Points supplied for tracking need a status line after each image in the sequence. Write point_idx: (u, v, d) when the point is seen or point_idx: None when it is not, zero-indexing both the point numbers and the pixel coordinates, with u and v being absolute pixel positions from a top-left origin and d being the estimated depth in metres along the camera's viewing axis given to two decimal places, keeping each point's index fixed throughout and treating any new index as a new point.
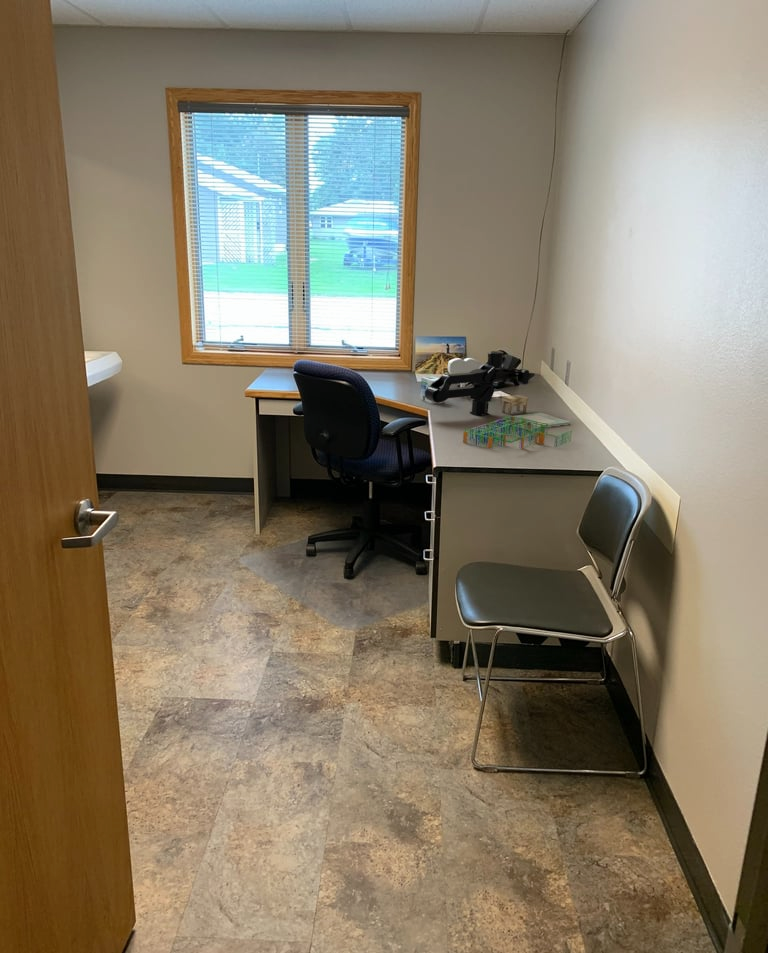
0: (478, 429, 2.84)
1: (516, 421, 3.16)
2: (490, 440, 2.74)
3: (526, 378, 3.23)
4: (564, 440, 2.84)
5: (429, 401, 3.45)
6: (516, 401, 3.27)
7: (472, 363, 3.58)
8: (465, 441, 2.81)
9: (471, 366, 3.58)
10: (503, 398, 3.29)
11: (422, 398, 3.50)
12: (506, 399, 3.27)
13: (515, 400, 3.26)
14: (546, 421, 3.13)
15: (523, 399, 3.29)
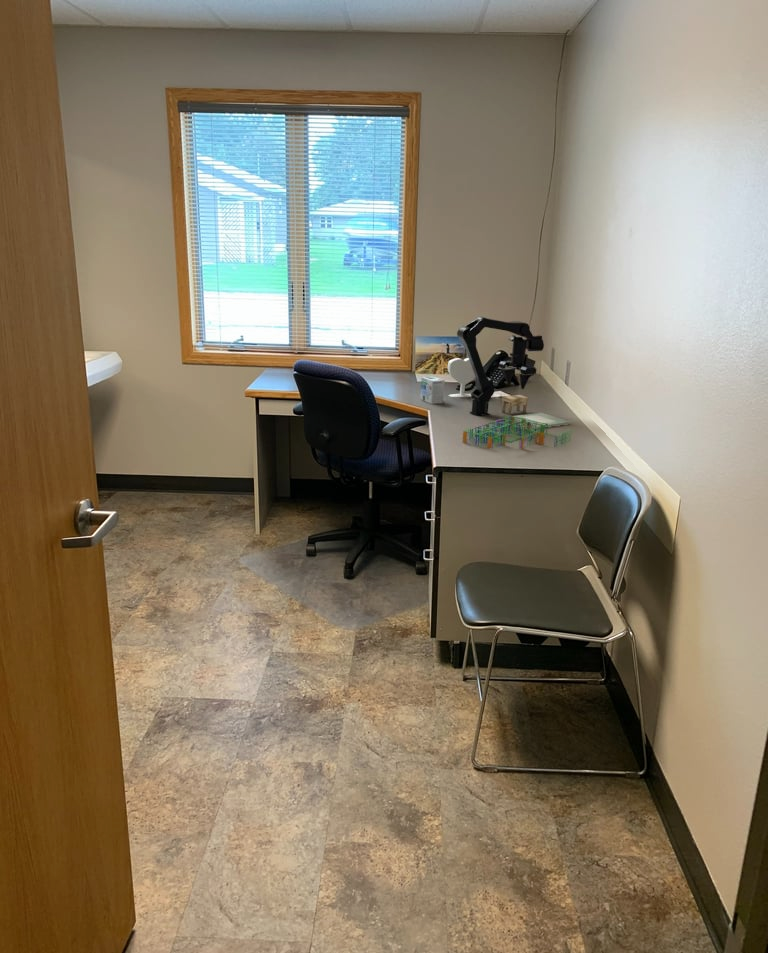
0: (478, 429, 2.84)
1: (516, 421, 3.16)
2: (490, 440, 2.74)
3: (531, 371, 3.18)
4: None
5: (429, 401, 3.45)
6: (516, 401, 3.27)
7: None
8: (465, 441, 2.81)
9: (471, 366, 3.58)
10: (503, 398, 3.29)
11: (422, 398, 3.50)
12: (506, 399, 3.27)
13: (515, 400, 3.26)
14: (546, 421, 3.13)
15: (523, 399, 3.29)
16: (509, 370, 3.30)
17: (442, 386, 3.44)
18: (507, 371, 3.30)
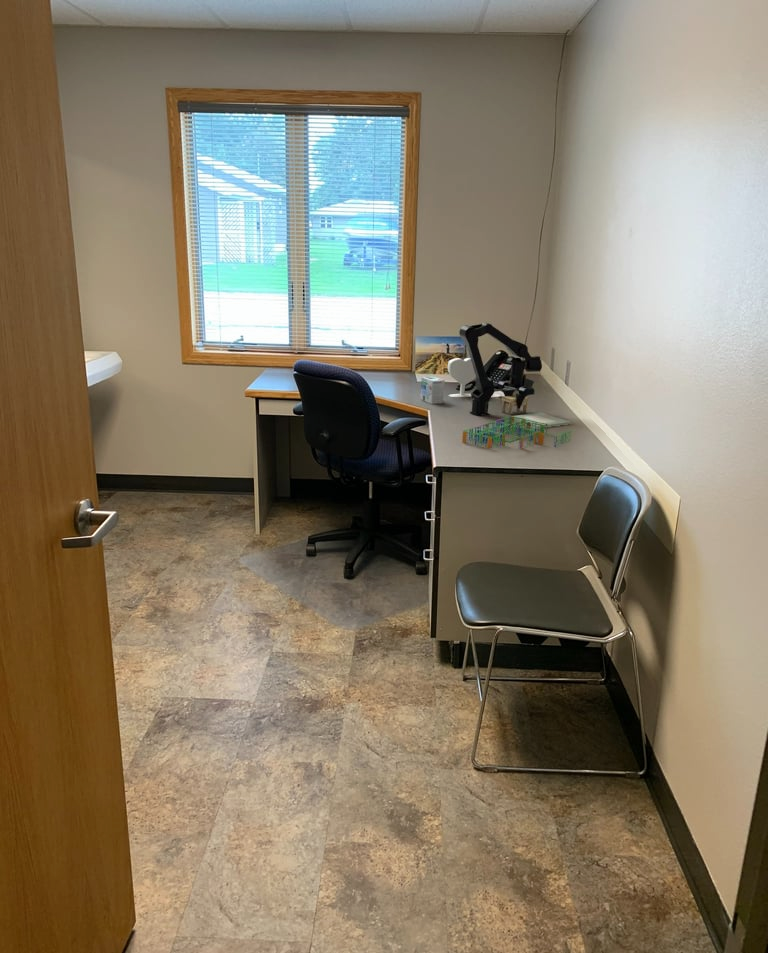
0: (477, 429, 2.84)
1: (516, 421, 3.16)
2: (489, 440, 2.74)
3: (529, 392, 3.21)
4: None
5: (429, 401, 3.45)
6: None
7: None
8: (464, 441, 2.81)
9: (471, 366, 3.58)
10: (503, 398, 3.29)
11: (422, 398, 3.50)
12: (506, 399, 3.27)
13: (515, 400, 3.26)
14: (546, 421, 3.13)
15: None
16: (510, 391, 3.32)
17: (442, 386, 3.44)
18: (508, 392, 3.31)
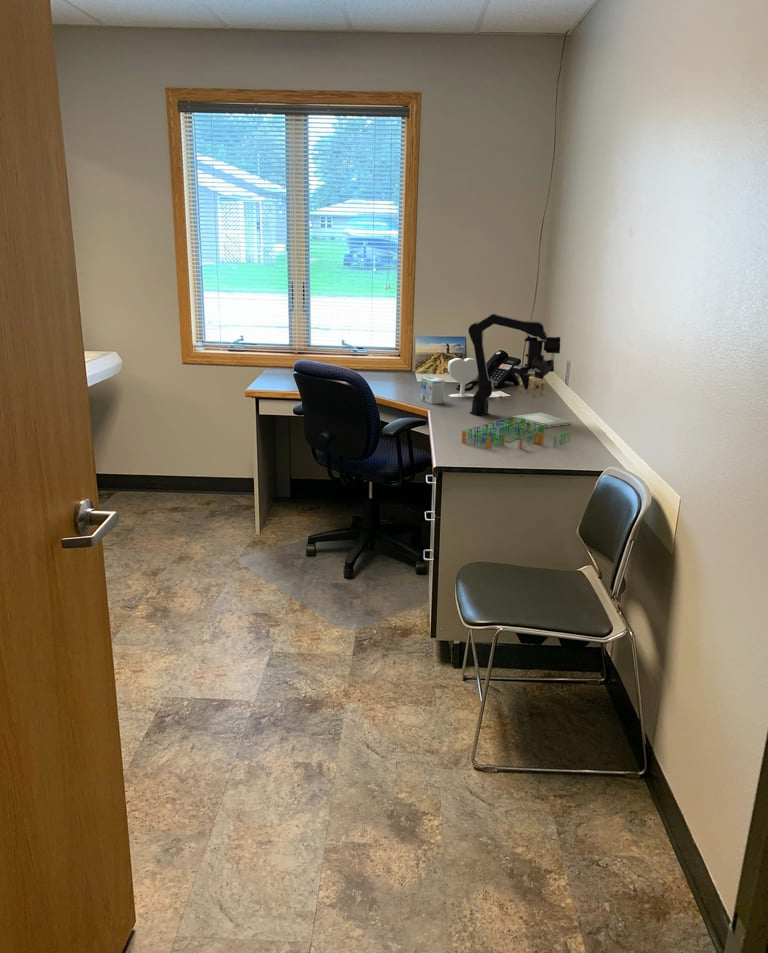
0: (477, 429, 2.84)
1: (516, 421, 3.16)
2: (489, 440, 2.74)
3: (515, 370, 3.12)
4: (563, 440, 2.84)
5: (429, 401, 3.45)
6: None
7: (472, 363, 3.58)
8: (464, 441, 2.81)
9: (471, 366, 3.58)
10: None
11: (422, 398, 3.50)
12: None
13: None
14: (546, 421, 3.13)
15: (530, 381, 3.15)
16: (539, 373, 3.19)
17: (442, 386, 3.44)
18: (537, 373, 3.20)
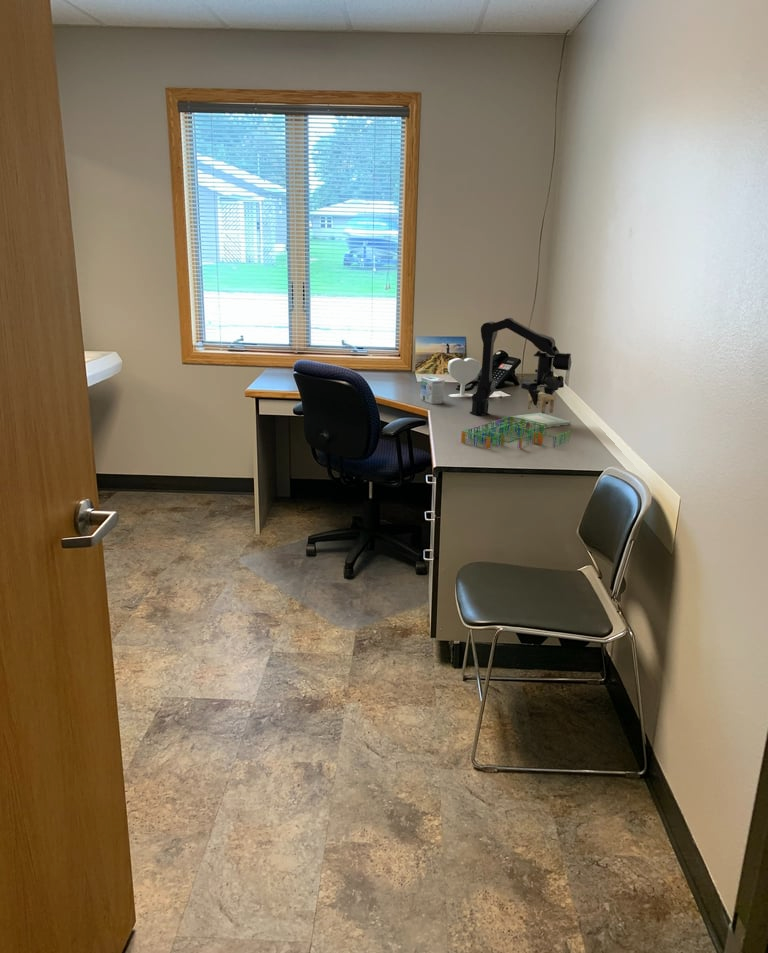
0: (476, 429, 2.84)
1: (516, 421, 3.16)
2: (488, 440, 2.74)
3: (524, 386, 3.08)
4: None
5: (429, 401, 3.45)
6: None
7: (472, 363, 3.58)
8: (463, 441, 2.81)
9: (471, 366, 3.58)
10: None
11: (422, 398, 3.50)
12: None
13: None
14: (546, 421, 3.13)
15: (540, 397, 3.10)
16: (548, 389, 3.14)
17: (442, 386, 3.44)
18: (546, 389, 3.15)
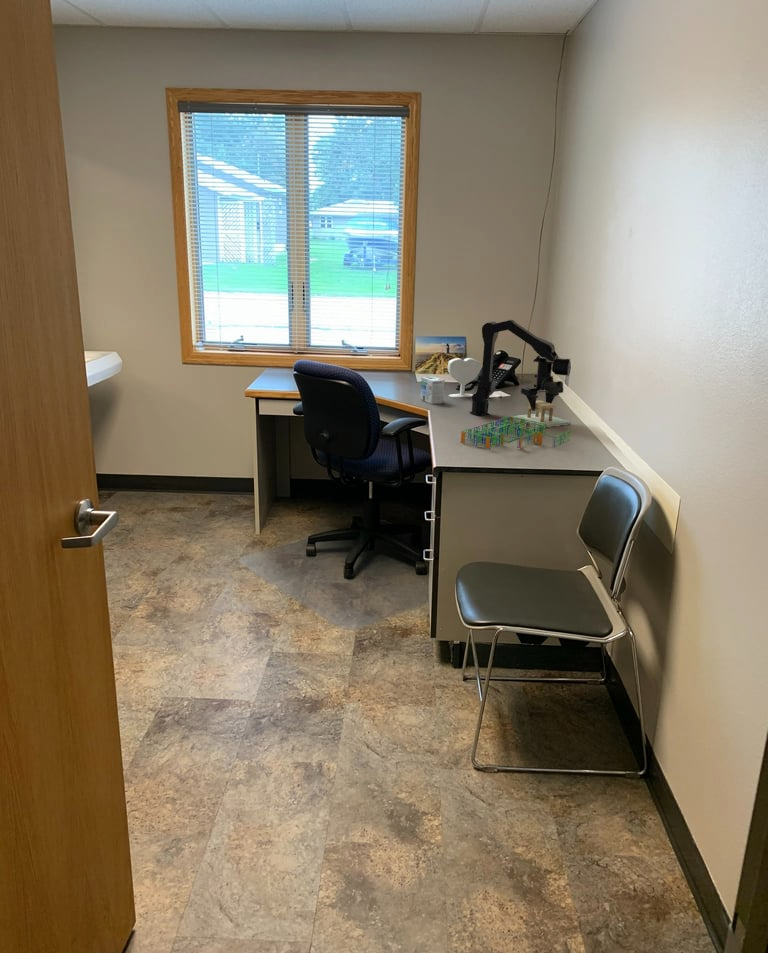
0: (476, 429, 2.84)
1: (516, 421, 3.16)
2: (488, 440, 2.74)
3: (524, 391, 3.08)
4: (562, 440, 2.83)
5: (429, 401, 3.45)
6: None
7: (472, 363, 3.58)
8: (463, 441, 2.81)
9: (471, 366, 3.58)
10: None
11: (422, 398, 3.50)
12: None
13: None
14: (546, 421, 3.13)
15: (539, 406, 3.11)
16: (549, 393, 3.15)
17: (442, 386, 3.44)
18: (547, 394, 3.16)
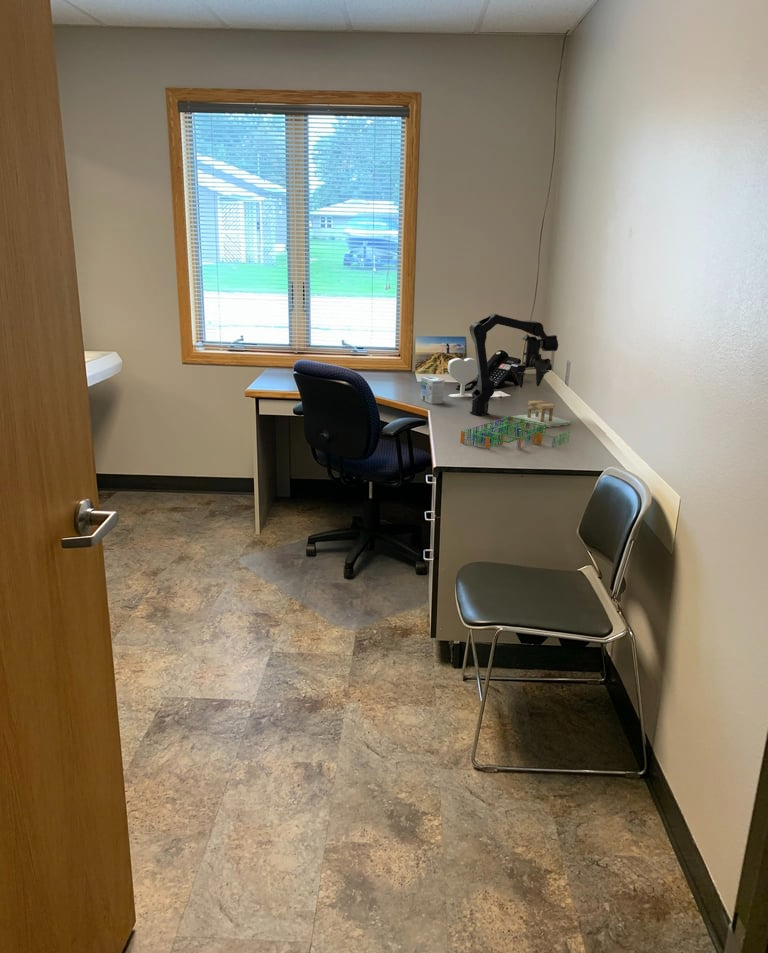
0: (476, 429, 2.84)
1: (516, 421, 3.16)
2: (487, 440, 2.74)
3: (513, 368, 3.21)
4: (562, 440, 2.83)
5: (429, 401, 3.45)
6: (532, 405, 3.14)
7: (472, 363, 3.58)
8: (462, 441, 2.81)
9: (471, 366, 3.58)
10: None
11: (422, 398, 3.50)
12: None
13: (532, 404, 3.15)
14: (546, 421, 3.13)
15: (539, 406, 3.11)
16: (539, 371, 3.28)
17: (442, 386, 3.44)
18: (538, 371, 3.29)
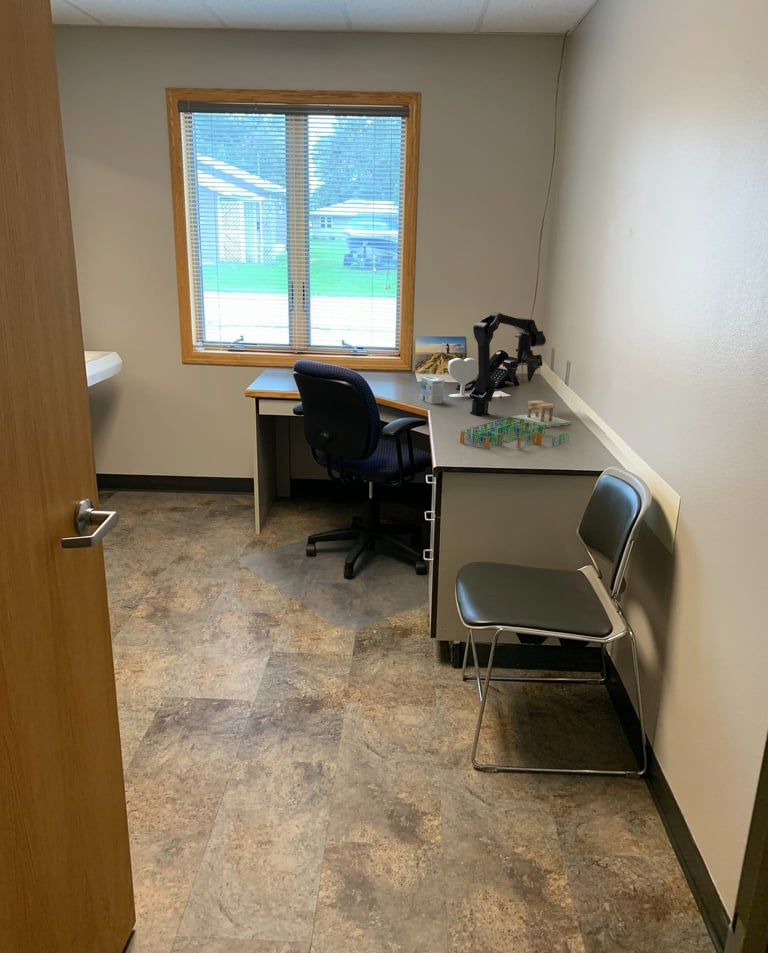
0: (475, 429, 2.84)
1: (516, 421, 3.16)
2: (487, 440, 2.74)
3: (506, 364, 3.30)
4: None
5: (429, 401, 3.45)
6: (532, 405, 3.14)
7: (472, 363, 3.58)
8: (462, 441, 2.81)
9: (471, 366, 3.58)
10: None
11: (422, 398, 3.50)
12: None
13: (532, 404, 3.15)
14: (546, 421, 3.13)
15: (539, 406, 3.11)
16: (531, 367, 3.37)
17: (442, 386, 3.44)
18: (529, 367, 3.38)
